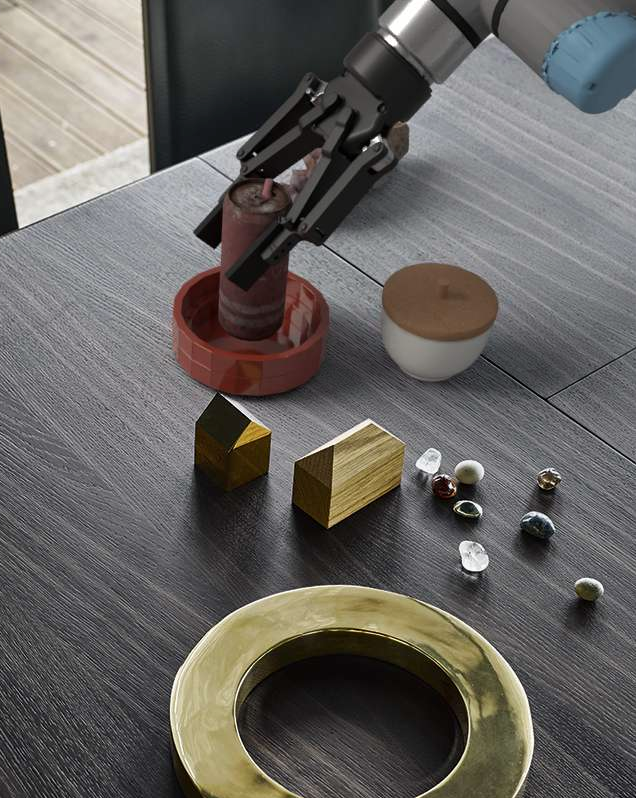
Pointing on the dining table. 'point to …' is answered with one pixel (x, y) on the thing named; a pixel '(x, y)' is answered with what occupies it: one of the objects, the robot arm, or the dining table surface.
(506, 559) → the dining table surface
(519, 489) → the dining table surface
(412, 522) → the dining table surface
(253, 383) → the bowl
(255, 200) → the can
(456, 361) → the trinket box
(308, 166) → the mineral specimen
